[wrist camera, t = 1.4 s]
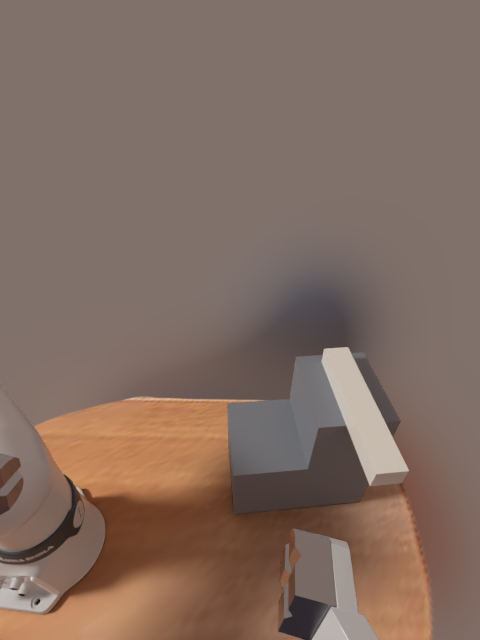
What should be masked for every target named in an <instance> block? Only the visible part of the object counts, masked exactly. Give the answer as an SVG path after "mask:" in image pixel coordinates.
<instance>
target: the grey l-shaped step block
mask: <svg viewBox="0 0 480 640" xmlns="http://www.w3.org/2000/svg"><path fill="white" fill-rule="evenodd" d="M351 354H352V356H353V358H354V360H355V362H356V364H357V366H358V368H359V370H360V373H361V375H362V377H363V379H364V381H365V383H366V385H367V387H368V389H369V391H370V393H371V395H372V397H373V399H374V401H375V403H376V405H377V407H378V409H379V411H380V413H381V415H382V417H383V419H384V421H385V423H386V425H387V427H388V429H389V431H390V433H391V435H392V437H393V435H394V433H395V431H396V430H397V428H398V426H399V424H400V422H401V421H400V419H399V417H398V415H397V413H396V412H395V410H394V408H393V406H392V404H391V402H390V400H389V399H388V397H387V395H386V393H385V391H384V389H383V387H382V386H381V384H380V382H379V380H378V378H377V376H376V374H375V373H374V371H373V369H372V367H371V365H370V364H369V361H368V360H367V358H366V356H365V354H364V353H351ZM322 357H323V355H317V356H302V357H296V361H295V367H294V374H293V380H292V387H291V393H290V399H286V400H285V399H284V400H271V401H257V402H243V403H230V404H227V405H228V445H229V458H230V472H231V485H232V498H233V511H234V514H241V513H251V512H261V511H272V510H282V509H292V508H302V507H312V506H322V505H332V504H342V503H352V502H359V501H360V499H361V497H362V495H363V493H364V492H365V490H366V488H367V486H368V484H369V483H368V480H367V478H366V475H365V472H364V470H363V467H362V465H361V462H360V460H359V457H358V454H357V452H356V449H355V447H354V444H353V442H352V439H351V436H350V434H349V431H348V429H347V426H346V424H345V421H344V418H343V416H342V413H341V411H340V408H339V406H338V403H337V400H336V398H335V395H334V393H333V390H332V388H331V385H330V382H329V380H328V377H327V375H326V372H325V370H324V367H323V364H322V362H321V361H322Z"/></svg>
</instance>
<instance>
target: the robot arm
mask: <svg viewBox="0 0 480 640" xmlns="http://www.w3.org/2000/svg"><path fill="white" fill-rule="evenodd" d="M104 539H105V522H104V518H103V516H102V514H101V512H100V510H99V509H98V508H97V507H96V506H94V505H93V504H92V503H90V502H89V501H88V500H87V499H86V497H85V494H84V492H83V491H82V490H81V489H80V488H79V487H75V486H74V484H73V482H72V480H70V479H69V478H68V477H67V476H66V475H64V474H63V473H62V472H61V470H60V469H59V467H58V466H57V464H56V463H55V461H54V460H53V458H52V456H51V453H50V451H49V450H48V448H47V446H46V444H45V443H44V441H43V439H42V438H41V436H40V435H39V433H38V432H37V430H36V429H35V428H34V426H33V425H32V424H31V422H30V421H29V419H28V418H27V417H26V415H25V414H24V413H23V411H22V410H21V409H20V407H19V406H18V404H16V402H15V401H14V400H13V399H12V398H11V396H10V395H9V394H8V392H7V391H6V389H5V388H4V387H3V385H2V384H1V383H0V609H5V610H12V611H20V612H27V613H35V614H46V613H48V612H49V611H50V610H51V609H52V608H53V607H54V606H55V605H56V603H57V602H58V601H59V599H60V598H61V597H62V595H63V594H64V593H65V592H66V591H67V590H68V589H69V588H71V587H72V586H73V585H75V584H76V583H77V582H78V581H80V580H81V579H82V578H83V577H84V576H85V575H86V574H87V573H88V571H89V570H90V569H91V568H92V566H93V565H94V563H95V562H96V560H97V558H98V556H99V554H100V552H101V550H102V547H103V543H104ZM280 584H281V586H282V588H283V592H282V595H281V597H280V600H279V614H278V632H281V633H285V634H288V635H291V636H295V637H298V638H301V639H304V640H379V639H378V637H377V635H376V634H375V632H374V630H373V629H372V627H371V625H370V624H369V622H368V620H367V619H366V617H365V615H362V614H359V611H358V604H357V597H356V590H355V583H354V576H353V569H352V562H351V555H350V548H349V545H348V543H347V542H346V541H343V540H339V539H335V538H331V537H328V536H325V535H320V534H316V533H312V532H308V531H303V530H299V529H295V528H293V529H292V530H291V532H290V535H289V543H288V544H286V545H285V548H284V551H283V555H282V560H281V567H280ZM38 600H40V603H39V604H38V605H36V602H37V601H38Z"/></svg>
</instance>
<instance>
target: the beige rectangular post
mask: <svg viewBox="0 0 480 640" xmlns="http://www.w3.org/2000/svg"><path fill="white" fill-rule="evenodd" d="M321 362H322V364H323V367H324V370H325V372H326V375H327V377H328V380H329V382H330V385H331V388H332V390H333V393H334V395H335V398H336V400H337V403H338V406H339V408H340V411H341V413H342V416H343V418H344V421H345V424H346V426H347V429H348V431H349V434H350V436H351V439H352V442H353V444H354V447H355V449H356V452H357V454H358V457H359V460H360V462H361V465H362V467H363V470H364V472H365V475H366V478H367V480H368V483H369V485H370V486H379V485H389V484H400V483H402V482H403V480H404V479H405V477H406V475H407V474H408V472H409V469H408V468H407V465H406V463H405V462H404V459H403V457H402V455H401V453H400V451H399V449H398V447H397V445H396V443H395V441H394V439H393V437H392V435H391V433H390V431H389V429H388V427H387V425H386V423H385V421H384V419H383V417H382V415H381V413H380V411H379V409H378V407H377V405H376V403H375V401H374V399H373V397H372V395H371V393H370V391H369V389H368V387H367V385H366V383H365V381H364V379H363V377H362V375H361V373H360V370H359V368H358V366H357V364H356V362H355V360H354V358H353V356H352V354H351V352H350V350H349V348H348V347H346V348H328V349H324V352H323V357H322V361H321Z"/></svg>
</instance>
